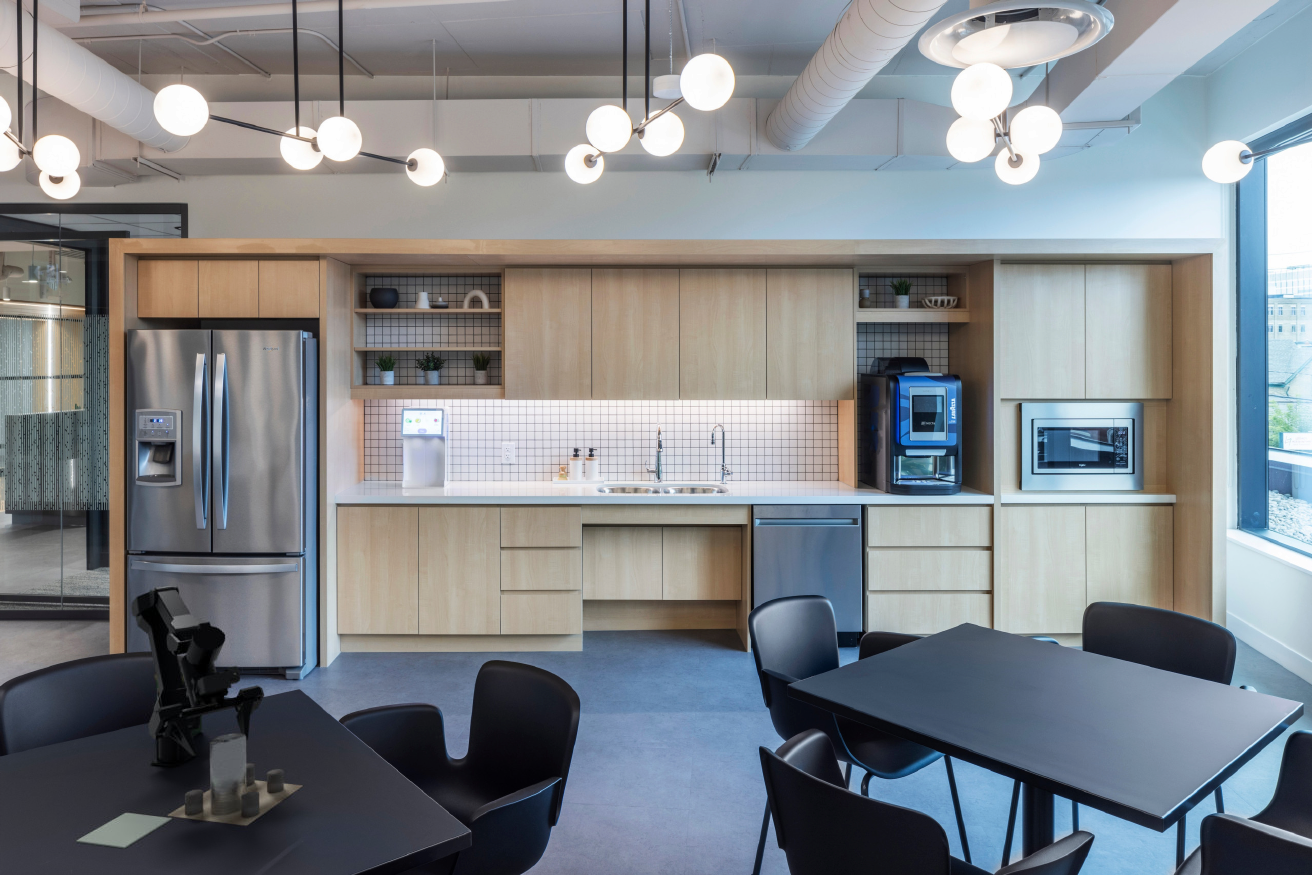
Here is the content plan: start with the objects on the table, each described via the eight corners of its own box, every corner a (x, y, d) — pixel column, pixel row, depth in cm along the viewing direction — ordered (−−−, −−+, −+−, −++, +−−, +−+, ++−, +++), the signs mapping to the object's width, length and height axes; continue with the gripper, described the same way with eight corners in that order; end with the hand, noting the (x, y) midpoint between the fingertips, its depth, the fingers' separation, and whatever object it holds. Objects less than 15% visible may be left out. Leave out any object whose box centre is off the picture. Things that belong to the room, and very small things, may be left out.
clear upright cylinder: (202, 813, 146) (202, 744, 146) (226, 798, 152) (226, 732, 152) (230, 816, 145) (230, 747, 145) (253, 801, 151) (253, 734, 151)
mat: (166, 818, 146) (166, 796, 146) (229, 780, 161) (229, 760, 161) (246, 828, 142) (246, 806, 142) (303, 788, 158) (303, 768, 158)
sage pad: (76, 844, 137) (76, 840, 136) (125, 816, 146) (125, 812, 146) (124, 851, 135) (124, 846, 134) (171, 822, 144) (171, 818, 144)
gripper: (156, 666, 148) (176, 740, 140) (260, 645, 161) (282, 712, 154) (144, 698, 153) (162, 770, 146) (246, 675, 167) (267, 741, 160)
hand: (221, 747), depth 151 cm, fingers open, 9 cm apart
